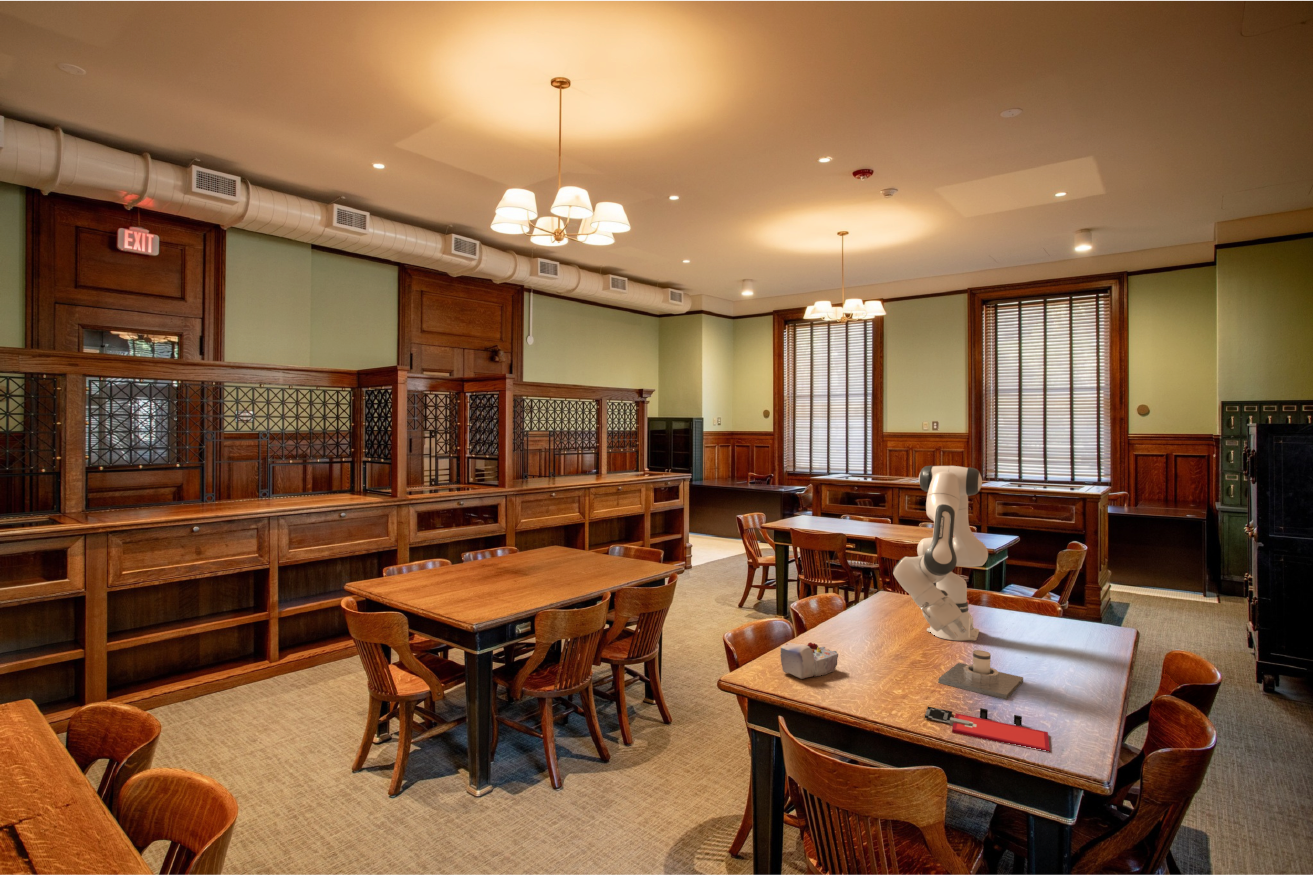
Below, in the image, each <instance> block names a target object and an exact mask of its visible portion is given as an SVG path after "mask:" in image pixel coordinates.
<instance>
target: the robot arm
mask: <svg viewBox="0 0 1313 875" xmlns="http://www.w3.org/2000/svg"><path fill="white" fill-rule="evenodd" d="M918 483H919V487H920V489H921V490H922V491H924V492H927V493H926V502H925V510H926V511H925V512H926V516H927V517H928V518H929V519H930V520H931V521H933V530H932V531H933V532H932V537H925V538H922V539H921V540H920V541H919V542H918V544H917V548H916V551H917V556H904V557H902V558H901V559H900V560H899V561H898V562H897V563H896V564H895V566H894V567H893V570H892V574H893V576H894V578H895V580H896V581H897V582H898V584H899V585H900V586H901V587H902V589H903V590H904V591H905V592H906V593H908V594H909V595H910V598H912V601H914V603H915V604H916V606H918V607H919V609H920V610H921V611H922V615H923V618H924V619H925V620H926V622H927V623H928V624H929V627H927V628H926V631H927V632H929V633H930V632H931V635H933V636H934V635H935V637H937V638H940V639H945V640H948V641H949V640H950V641H960V642H961V641H977V639H978V638H979V637H978V636H979V634H980V629H979V628H976V627H974V617H973V615H972V614H971V613H970V612H969V605H970V600H969V599H967V598H968V596H967V595H968V593H967V592H968V591H967V590H968V589H967V588H968V587H967V586H968V585H967V582H966V580H965V579H964V578H963V577H961V576H960V575H958V574H956V573H954V572H953V570H954V569H955V568H956V567H963V568H975V567H982V566H983V565H985V563H986V562H987V560H988V557H989V550H988V548H987V546H986V545H985V543H984V542H982V541H981V540H980V539H978V538H977V537H976V536H975V535H974V533H973V532H972V530H971V527H970V523H969V497H971V496H974V495H976V494H978V493H979V492H980V490H981V488H982V486H983V485H982V484H983V478H982V475H981V472H980V471H979V470H978V468H974V467H965V466H959V465H957V466H956V465H925V466H924V467H923V468H921V470H920V472H919V475H918Z"/></svg>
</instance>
